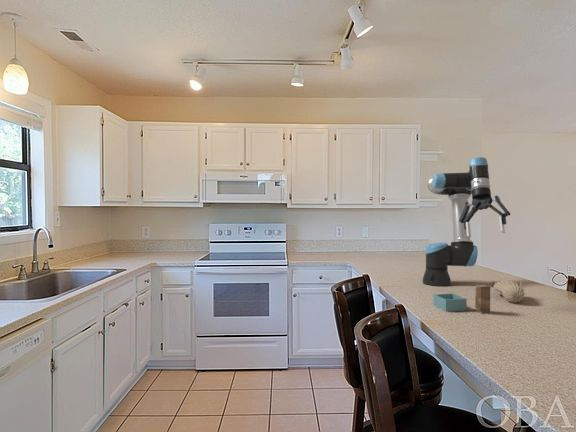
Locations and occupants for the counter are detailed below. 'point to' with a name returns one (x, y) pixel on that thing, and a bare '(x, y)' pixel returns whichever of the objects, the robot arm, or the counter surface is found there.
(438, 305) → the teal storage bin
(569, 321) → the counter surface
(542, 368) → the counter surface
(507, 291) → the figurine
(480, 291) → the wooden post on plate
